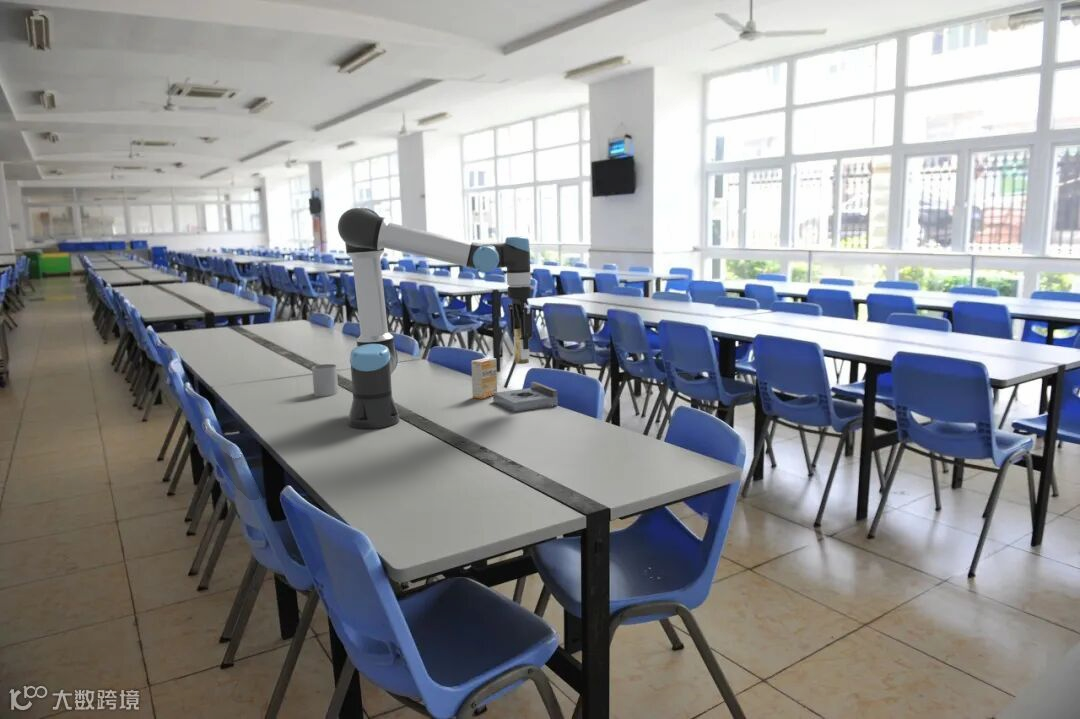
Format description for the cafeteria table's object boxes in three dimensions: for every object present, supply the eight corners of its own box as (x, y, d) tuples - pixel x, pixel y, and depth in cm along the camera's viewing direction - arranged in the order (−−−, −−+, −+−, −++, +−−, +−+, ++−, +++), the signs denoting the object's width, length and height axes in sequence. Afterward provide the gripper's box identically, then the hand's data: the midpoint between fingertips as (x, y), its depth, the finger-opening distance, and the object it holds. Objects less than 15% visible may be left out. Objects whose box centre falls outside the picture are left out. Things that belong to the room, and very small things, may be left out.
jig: (514, 412, 239) (513, 396, 238) (493, 401, 253) (492, 387, 252) (557, 405, 246) (557, 390, 245) (535, 395, 260) (534, 381, 259)
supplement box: (482, 399, 256) (481, 361, 254) (472, 397, 259) (470, 360, 257) (498, 394, 263) (497, 358, 260) (487, 392, 265) (486, 356, 263)
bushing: (518, 364, 240) (517, 330, 238) (513, 362, 244) (511, 328, 242) (531, 362, 242) (530, 329, 240) (525, 360, 246) (524, 327, 244)
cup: (341, 391, 273) (339, 364, 271) (333, 396, 265) (331, 368, 263) (319, 390, 274) (317, 364, 272) (310, 396, 266) (308, 368, 264)
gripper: (541, 286, 232) (544, 360, 237) (518, 283, 248) (521, 352, 252) (519, 288, 229) (522, 363, 233) (497, 284, 244) (500, 354, 249)
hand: (521, 357), depth 243 cm, fingers closed on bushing, 4 cm apart
